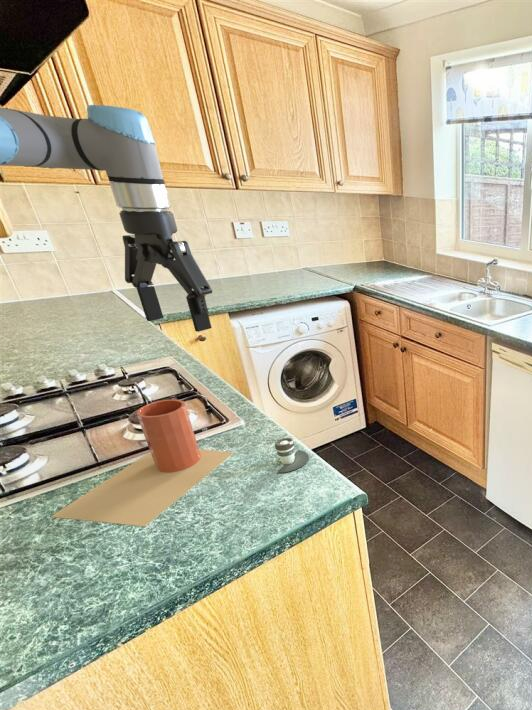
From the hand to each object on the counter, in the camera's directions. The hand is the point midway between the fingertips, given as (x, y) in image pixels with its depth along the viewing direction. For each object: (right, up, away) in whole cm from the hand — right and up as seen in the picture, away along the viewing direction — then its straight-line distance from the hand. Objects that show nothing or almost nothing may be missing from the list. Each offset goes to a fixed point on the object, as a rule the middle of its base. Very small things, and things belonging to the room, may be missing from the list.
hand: (179, 324), depth 83 cm
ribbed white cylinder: (+21, -28, +1) cm, 35 cm away
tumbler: (+1, -27, -1) cm, 27 cm away
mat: (+1, -30, -7) cm, 31 cm away
